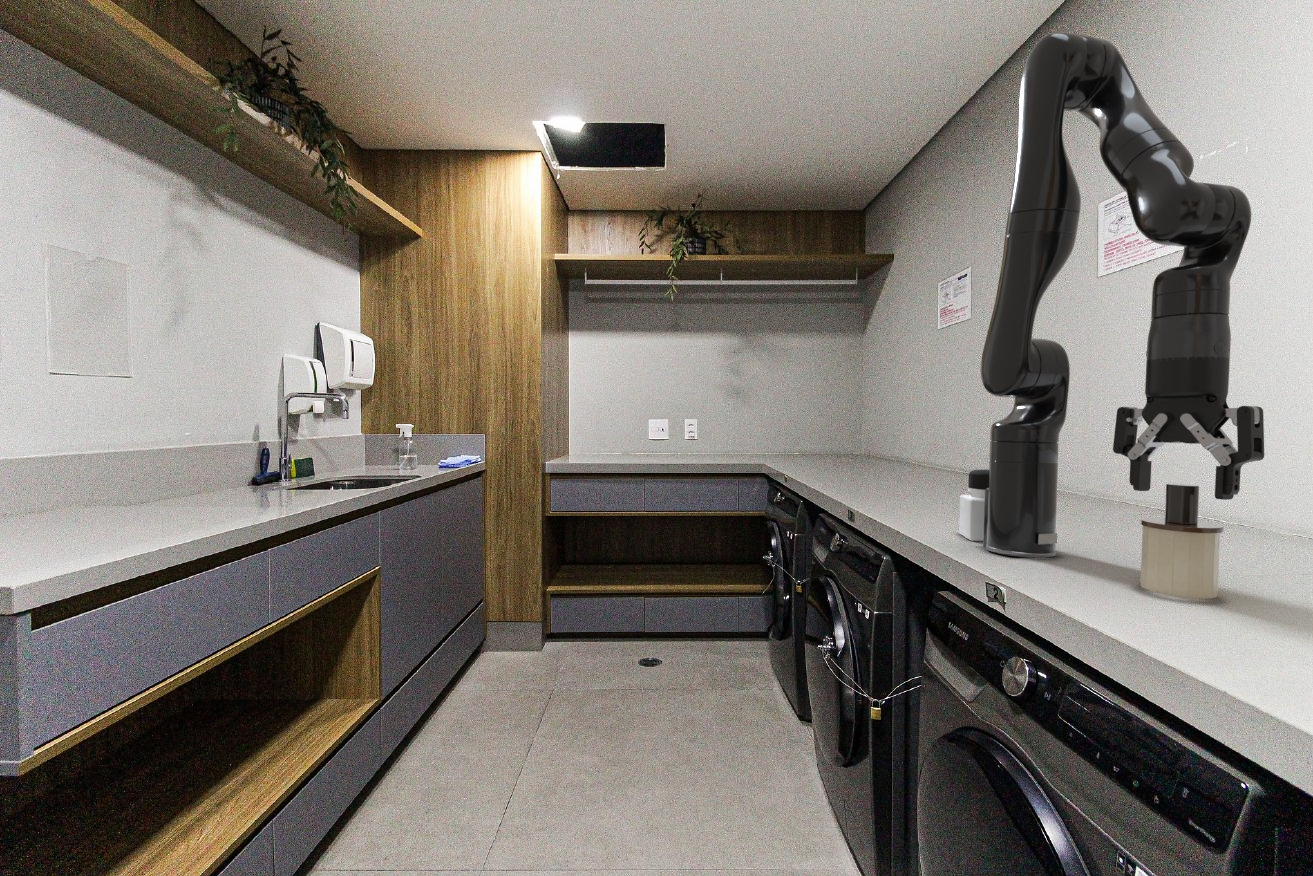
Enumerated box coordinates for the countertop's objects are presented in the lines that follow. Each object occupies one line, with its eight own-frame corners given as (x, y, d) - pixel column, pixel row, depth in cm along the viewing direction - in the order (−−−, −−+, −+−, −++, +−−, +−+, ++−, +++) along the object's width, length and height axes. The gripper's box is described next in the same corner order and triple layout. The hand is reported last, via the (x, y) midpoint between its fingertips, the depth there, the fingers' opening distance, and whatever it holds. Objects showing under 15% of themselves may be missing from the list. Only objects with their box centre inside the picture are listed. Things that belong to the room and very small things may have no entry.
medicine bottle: (1015, 543, 107) (1017, 472, 106) (969, 541, 108) (971, 470, 108) (1001, 536, 114) (1003, 469, 113) (958, 533, 115) (960, 467, 115)
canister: (1125, 587, 78) (1127, 523, 78) (1174, 586, 79) (1176, 522, 79) (1180, 604, 71) (1183, 533, 71) (1233, 602, 72) (1236, 532, 72)
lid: (1124, 527, 78) (1125, 481, 78) (1177, 527, 79) (1178, 481, 79) (1184, 539, 71) (1186, 488, 70) (1242, 538, 72) (1244, 488, 72)
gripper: (1283, 353, 69) (1275, 501, 70) (1141, 362, 82) (1136, 487, 83) (1242, 349, 66) (1235, 504, 67) (1103, 360, 80) (1097, 488, 80)
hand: (1180, 494), depth 75 cm, fingers open, 8 cm apart
